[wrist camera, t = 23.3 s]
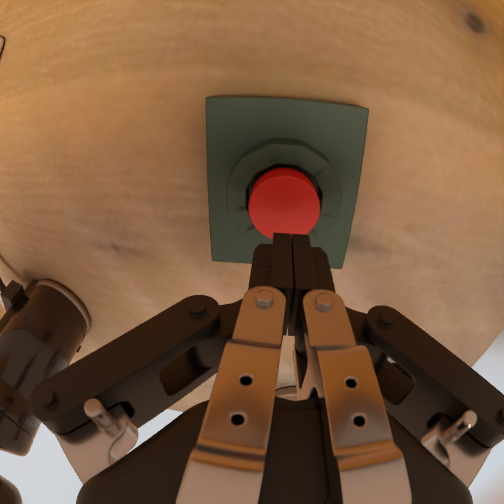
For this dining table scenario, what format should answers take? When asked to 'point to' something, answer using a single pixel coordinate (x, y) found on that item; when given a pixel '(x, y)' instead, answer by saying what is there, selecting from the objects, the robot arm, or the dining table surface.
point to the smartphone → (1, 43)
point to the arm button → (284, 202)
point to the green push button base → (281, 155)
